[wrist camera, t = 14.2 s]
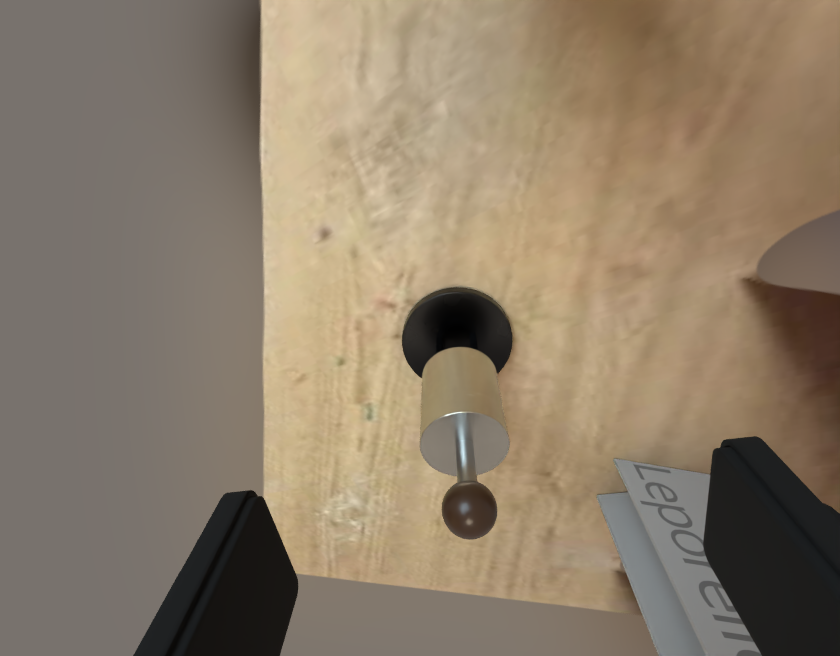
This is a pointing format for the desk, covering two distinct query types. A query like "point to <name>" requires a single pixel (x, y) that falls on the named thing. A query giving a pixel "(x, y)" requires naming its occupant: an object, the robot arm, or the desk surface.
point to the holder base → (456, 327)
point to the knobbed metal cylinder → (463, 434)
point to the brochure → (673, 561)
